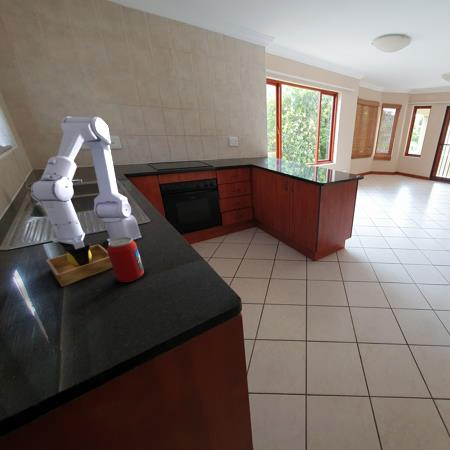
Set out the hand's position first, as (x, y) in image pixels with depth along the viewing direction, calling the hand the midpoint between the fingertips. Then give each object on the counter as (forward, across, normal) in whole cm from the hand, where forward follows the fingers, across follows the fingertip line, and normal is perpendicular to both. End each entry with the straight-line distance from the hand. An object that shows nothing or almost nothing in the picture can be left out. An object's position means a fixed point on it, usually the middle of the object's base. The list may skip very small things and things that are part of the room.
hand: (81, 261), depth 74 cm
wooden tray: (+2, 0, 0) cm, 2 cm away
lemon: (+2, 0, 0) cm, 2 cm away
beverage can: (+3, +17, +7) cm, 19 cm away
